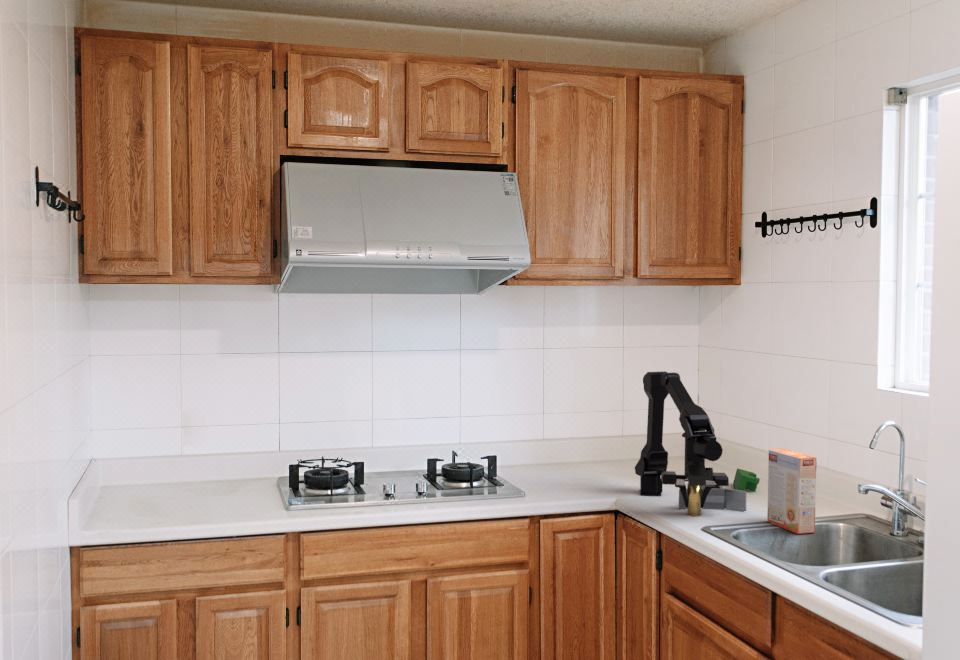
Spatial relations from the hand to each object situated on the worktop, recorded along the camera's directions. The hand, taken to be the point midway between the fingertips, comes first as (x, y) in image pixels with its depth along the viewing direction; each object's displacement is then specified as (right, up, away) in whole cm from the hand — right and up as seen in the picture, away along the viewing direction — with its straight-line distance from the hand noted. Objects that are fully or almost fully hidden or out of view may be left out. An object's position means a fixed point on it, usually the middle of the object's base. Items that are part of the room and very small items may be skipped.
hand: (694, 507), depth 262 cm
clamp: (+25, -1, +32) cm, 41 cm away
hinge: (+7, -2, +9) cm, 12 cm away
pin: (0, -2, 0) cm, 2 cm away
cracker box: (+23, -3, -14) cm, 27 cm away
